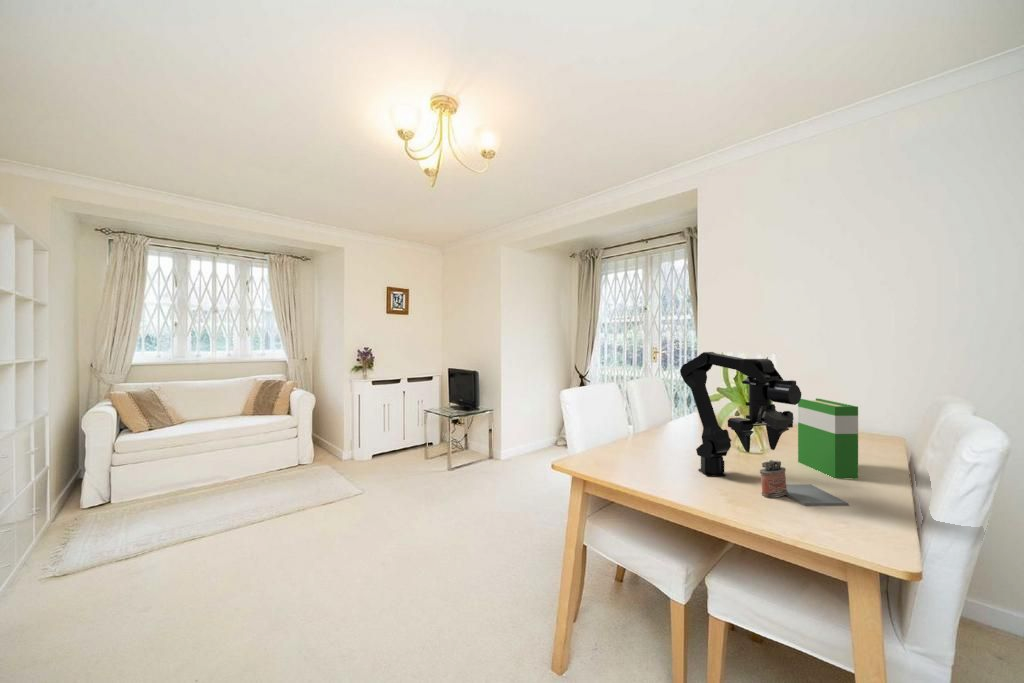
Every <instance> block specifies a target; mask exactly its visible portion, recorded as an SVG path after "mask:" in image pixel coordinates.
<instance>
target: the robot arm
mask: <svg viewBox="0 0 1024 683" xmlns="http://www.w3.org/2000/svg"><path fill="white" fill-rule="evenodd" d="M713 366H718V367H721V368H726V369H731V370H735V371H737V372H739V373H741V374H742V375H743V376H744V375H745V376H746V378H745V379H744V380H742V381H741V384H743V385H748V401H746V402H745V406H747V407H748V414H746V415H745V418H743V417H730V418H729V419H728V420H727V428H730V429H731V430H732V431H734V432H735V434H736V435H737V437H738V440H739V441H740V444H741V445H742V446H743V449H744V450H745V452H746V453H750V450H751V436H752V435H753V434H754V433H755V432H754V430H753V429H754V427H761V426H765V429H766V434H767V439H768V444H769V448H770V450H772V451H775V449H776V447H777V445H778V443H779V440H780V438H781V436H782V434H784V433H785V432H787V431H789V430H790V428H794V427H793V426H794V425H793V424H794V413H793V412H792V411H790V410H783V411H777V410H776V405H775V403H779V404H785V405H792V406H793V405H794V406H795V405H798V403H799V401H800V399H802V391H801V389H800V387H799V385H798V384H797V381H796V380H793V379H791V380H785V379H783V377H782V376H781V374H780V373H779V371H777V369H776V367H775V364H774V363H773V361H772V360H771V359H768V358H742V357H737V356H732V355H728V354H721V353H716V352H714V351H705V352H704V351H703V352H701V353H700V354H699V355H697V356H696V357H694V358H692V359H690V360H689V361H687V363H684V364H682V366H681V367H680V369H679V372H680V376H681V377H682V380H683V382H684V383H685V384H686V385H687V387H689V388H690V390H691V393H692V397H693V400H694V402H695V406H696V409H697V412H698V413H697V414H698V415H699V419H700V421H701V426H702V432H701V440H702V441H701V442H702V443H701V444H700V445H699V446H698V447H697V448H696V449H695V452H696V455H697V456H699V457H700V468H698V471H699V472H701V473H702V474H703V475H705V476H707V477H726V476H727V474H725V460H724V457H726V456H727V455H728V452H729V450H730V449H731V447H732V444H731V442H732V439H731V438H730V434H729V430H728V429H726V428H725V429H723V428H721V426H720V424H719V423H718V419H717V417H716V414H715V411H714V407H713V404H712V402H711V399H710V395H709V392H708V389H707V386H706V384H707V380H708V375H707V372H709V371H710V370H711V368H712V367H713ZM772 402H773V403H772Z"/></svg>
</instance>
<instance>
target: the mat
mask: <svg viewBox="0 0 1024 683" xmlns="http://www.w3.org/2000/svg"><path fill="white" fill-rule="evenodd" d="M786 489H787V492H788V494H786V495H785V496H786V497H788V498H790V499H792V500H794V501H795V502H797V503H799V504H801V505H802V506H849V505H850V504H849V502H847V501H845V500H843V499H841V498H839V497H837V496H835V495H833V494H832V493H829V492H827V491H825V490H823V489H821V488H818V487H817V486H815V485H812V484H810V483H809V484H806V483H804V484H803V483H798V484H793V483H792V484H787V483H786Z"/></svg>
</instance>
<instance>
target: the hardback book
mask: <svg viewBox="0 0 1024 683" xmlns="http://www.w3.org/2000/svg"><path fill="white" fill-rule="evenodd" d="M797 447H798V448H797V462H798V463H800V464H802V465H804V466H806V467H808V466H809V467H808V468H810V467H811V469H812V468H813V470H814V471H817V470H818V471H817V472H819V471H820V473H821V472H822V473H821V474H823V473H824V474H823V475H826V474H827V475H826V476H828V475H829V476H828V477H830V476H831V478H832V477H833V479H834V478H858V479H859V406H856V405H852V404H847V403H841V402H837V401H833V400H827V399H823V398H818V397H817V398H815V400H809V399H805V398H801V399H800V401H799V403H798V404H797Z"/></svg>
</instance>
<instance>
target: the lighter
mask: <svg viewBox="0 0 1024 683" xmlns="http://www.w3.org/2000/svg"><path fill="white" fill-rule="evenodd" d="M761 467H762V468H761V469H759V474H760V480H761V491H762V492H761V496H762V497H763V496H764V498H766V497H767V499H768V498H769V499H772V498H777V497H782V496H783V497H784V496H787V495H786V494H788V492H787V489H786V484H787V480H786V479H787V478H786V472H787V471H786V470H787V469H786V467H784V466H782V461H781V460H777V459H776V460H773V459H770V460H769V461H764V462H762V463H761Z"/></svg>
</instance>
